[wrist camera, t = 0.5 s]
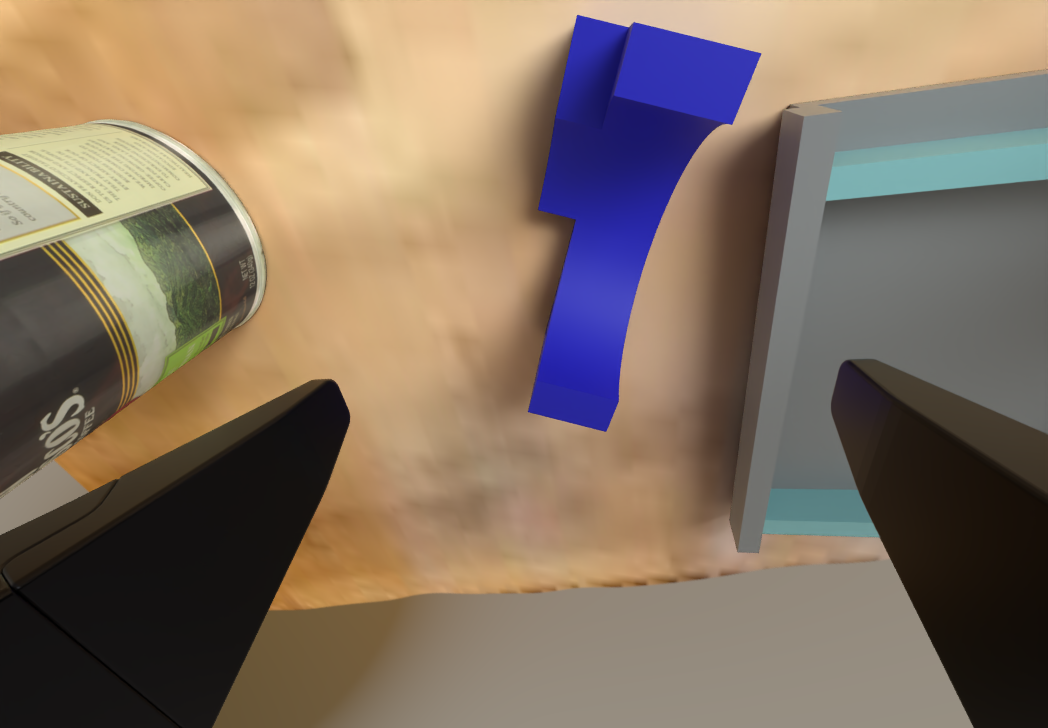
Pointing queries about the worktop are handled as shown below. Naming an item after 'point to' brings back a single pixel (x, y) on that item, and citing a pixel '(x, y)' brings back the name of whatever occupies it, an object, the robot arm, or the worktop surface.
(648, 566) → the worktop surface
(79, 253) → the coffee can
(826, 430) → the tray
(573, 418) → the cable clip
